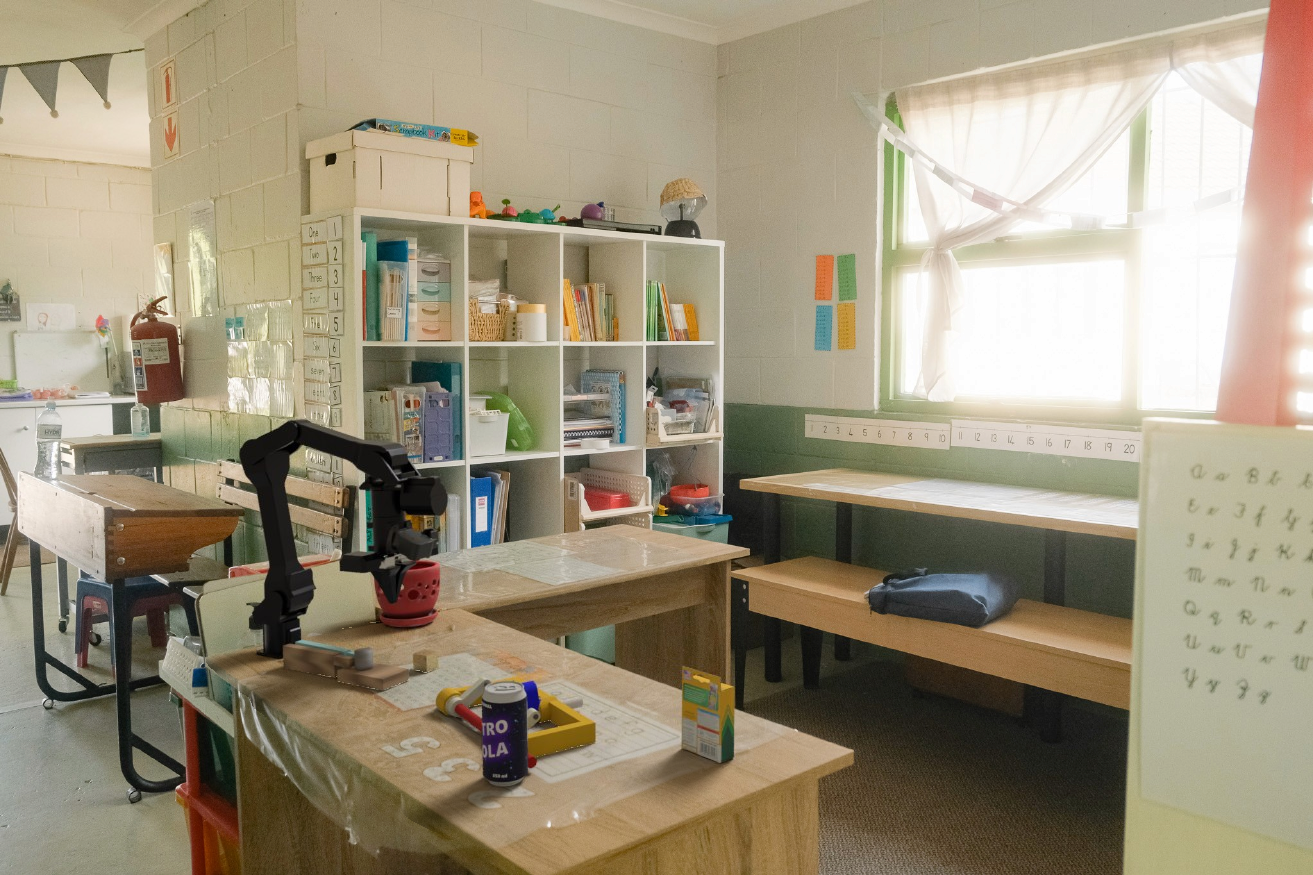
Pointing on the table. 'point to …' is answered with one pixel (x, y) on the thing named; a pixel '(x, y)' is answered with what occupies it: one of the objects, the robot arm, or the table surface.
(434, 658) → the block
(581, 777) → the table surface
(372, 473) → the robot arm
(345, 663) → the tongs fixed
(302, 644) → the bar
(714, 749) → the crayon box
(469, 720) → the mechanical clamp
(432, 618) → the plant pot
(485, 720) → the beverage can
